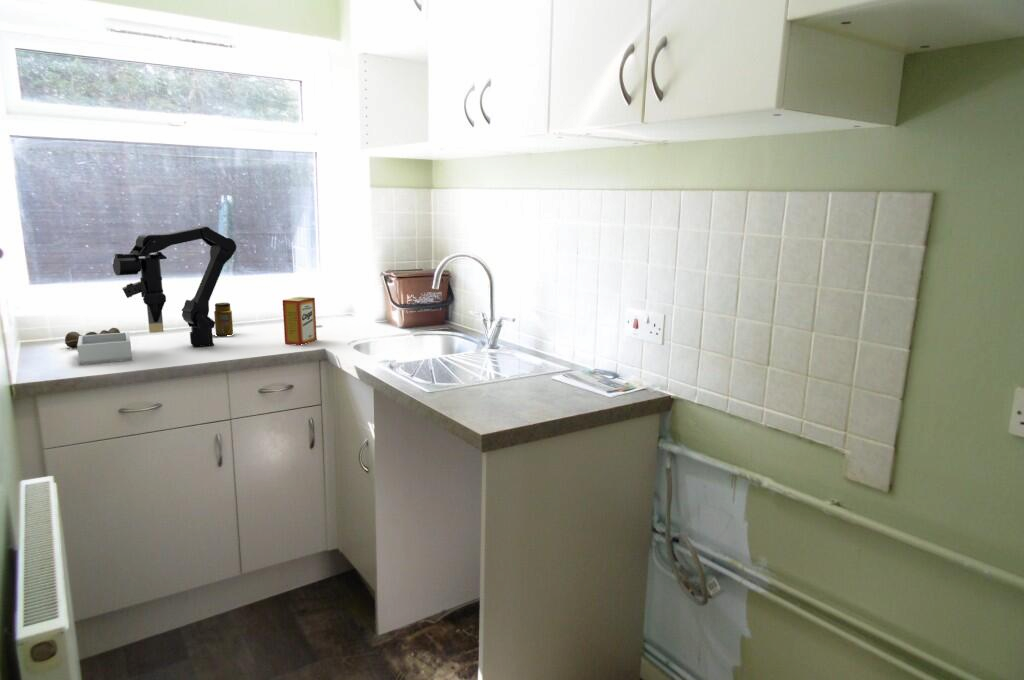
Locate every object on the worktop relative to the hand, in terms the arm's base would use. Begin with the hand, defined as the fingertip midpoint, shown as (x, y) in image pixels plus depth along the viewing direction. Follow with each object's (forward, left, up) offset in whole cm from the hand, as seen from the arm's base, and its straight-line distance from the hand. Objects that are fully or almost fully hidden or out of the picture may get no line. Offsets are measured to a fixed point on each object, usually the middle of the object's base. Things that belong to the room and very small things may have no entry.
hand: (155, 321), depth 221 cm
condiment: (-23, -21, -11) cm, 33 cm away
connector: (0, 0, -4) cm, 4 cm away
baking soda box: (-45, +6, -11) cm, 47 cm away
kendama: (+19, -22, -11) cm, 31 cm away
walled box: (+15, +1, -10) cm, 18 cm away
